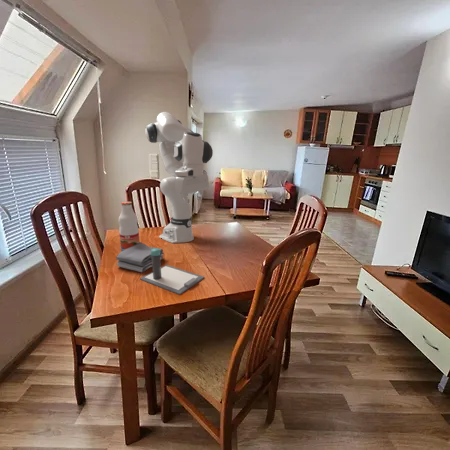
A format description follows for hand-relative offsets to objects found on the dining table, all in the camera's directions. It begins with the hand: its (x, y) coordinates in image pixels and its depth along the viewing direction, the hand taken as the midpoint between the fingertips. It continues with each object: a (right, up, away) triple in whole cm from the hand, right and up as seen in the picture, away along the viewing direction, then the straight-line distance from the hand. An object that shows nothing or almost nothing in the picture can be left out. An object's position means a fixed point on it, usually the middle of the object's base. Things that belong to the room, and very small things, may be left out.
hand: (193, 201), depth 114 cm
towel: (-26, -30, +7) cm, 40 cm away
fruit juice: (-35, -27, +17) cm, 47 cm away
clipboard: (-8, -34, -7) cm, 36 cm away
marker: (-14, -33, -8) cm, 37 cm away
